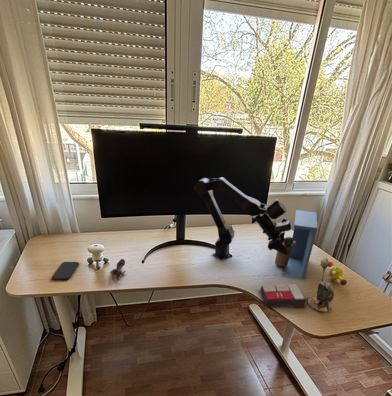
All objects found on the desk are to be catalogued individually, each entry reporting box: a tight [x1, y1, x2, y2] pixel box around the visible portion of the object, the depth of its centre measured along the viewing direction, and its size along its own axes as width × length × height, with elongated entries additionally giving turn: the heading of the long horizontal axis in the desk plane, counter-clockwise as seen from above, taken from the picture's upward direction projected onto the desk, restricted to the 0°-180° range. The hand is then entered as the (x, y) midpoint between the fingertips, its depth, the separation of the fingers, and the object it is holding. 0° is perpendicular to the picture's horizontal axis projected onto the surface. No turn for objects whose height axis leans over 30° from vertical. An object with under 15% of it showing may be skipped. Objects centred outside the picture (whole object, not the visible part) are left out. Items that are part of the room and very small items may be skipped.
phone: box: [51, 261, 80, 281], centre depth 129 cm, size 7×1×15 cm
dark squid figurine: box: [109, 258, 126, 281], centre depth 127 cm, size 8×7×9 cm
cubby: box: [283, 209, 319, 280], centre depth 133 cm, size 9×21×24 cm, turn 162°
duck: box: [274, 236, 296, 267], centre depth 135 cm, size 7×6×14 cm
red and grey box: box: [259, 283, 307, 308], centre depth 115 cm, size 11×4×15 cm
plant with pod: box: [306, 257, 335, 313], centre depth 107 cm, size 8×11×20 cm
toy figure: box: [327, 261, 348, 286], centre depth 128 cm, size 18×6×7 cm, turn 178°
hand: (287, 251), depth 135 cm, fingers closed on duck, 6 cm apart
